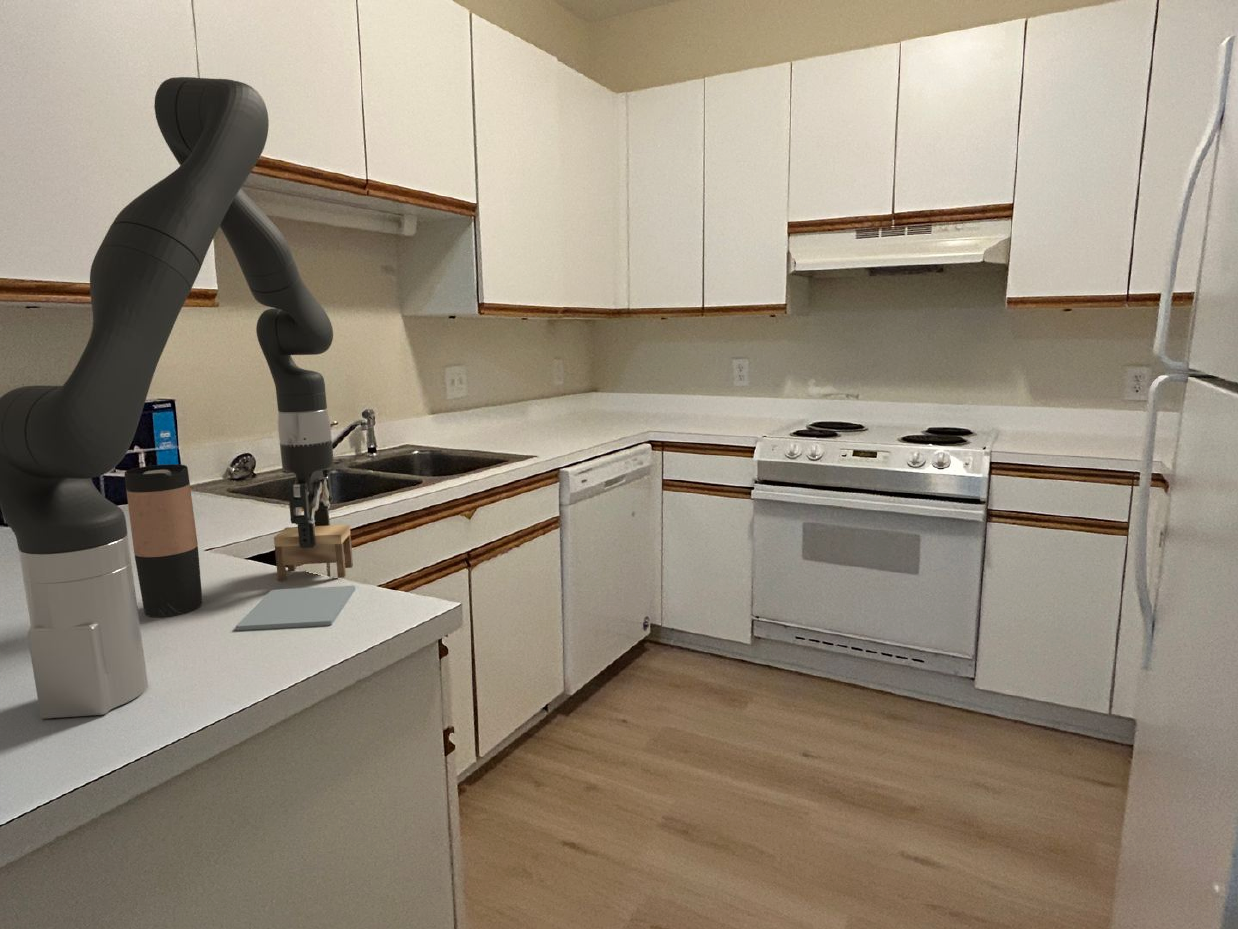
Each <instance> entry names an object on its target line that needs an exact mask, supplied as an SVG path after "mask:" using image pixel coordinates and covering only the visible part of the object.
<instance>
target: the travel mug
mask: <svg viewBox="0 0 1238 929" xmlns="http://www.w3.org/2000/svg"><path fill="white" fill-rule="evenodd" d="M188 469H189V468H188V466H187V465H185V464H173V463H172V464H170V463H169V464H155V465H154V464H153V465H146V466H141V467H135V468H131V469H128V470H125V471H124V481H125V489H126V498H127V507H128V514H129V521H130V522H129V523H130V531H131V538H132V546H133V554H134V561H135V566H136V567H135V568H136V574H137V577H138V584H139V589H140V595H141V601H142V607H143V610H144V614H145V616H147V617H152V618H168V617H176V616H180V615H183V614H187V613H190V612H193V611H195V610H197V609H198V608H200V607H201V606H203V594H202V593H203V590H202V580H201V579H202V578H201V568H200V557H199V556H200V555H199V545H198V538H197V537H198V535H197V528H196V523H195V522H196V521H195V515H194V507H193V506H194V505H193V498H192V490H191V484H190V475H189V470H188Z"/></svg>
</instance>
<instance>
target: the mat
mask: <svg viewBox="0 0 1238 929" xmlns="http://www.w3.org/2000/svg"><path fill="white" fill-rule="evenodd" d="M355 591H356V585H343V586H342V585H340V586H339V585H338V586H323V587H322V586H321V587H320V586H319V587H318V586H317V587H303V588H302V587H301V588H283V589H282V588H281V589H271V590H270V591H269V592H268V593H266V595H265V596H264V597H263V598H262V599H261V600H260V601H259V602H257V604H256V605H255V606H254V607H253V608H252V609H251V610H250V611H249V612H248V613H247V614H246V615H245V616H244V617H243V619H241V620H240V621H239V622H238V623H237V624H236V626H235V630H236V631H237V632H238V631H249V630H250V631H251V630H265V629H266V630H267V629H268V630H270V629H285V628H300V627H301V628H302V627H305V628H306V627H321V626H322V627H323V626H332V625H333V624H334V622H335V621H336V619H338V616H339V615H340V614H341V612H342V610H343V609H344V607H345V606H346V604H347V603H348V602H349V600H350V598H351V597H352V595H353V594H354V592H355Z"/></svg>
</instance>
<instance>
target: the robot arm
mask: <svg viewBox="0 0 1238 929" xmlns="http://www.w3.org/2000/svg"><path fill="white" fill-rule="evenodd" d="M158 86H159V87H158V88H157V90H156V91H155V92H156V93H155V96H154V106H153V108H154V114H155V120H156V123H157V125H158V129H159V132H160V133H161V136H162V138H163V139H164V141H165V143H166V145H167V147H168V149H170V152H171V153H172V155H173V157H174V158H175V160H176V162H177V163H178V164H179V167H178V168H177V169H175V170H174V171H173V172H171V173H170V174H168V175H167V176H166V177H164V178H163V179H161V180H159V181H158V182H157V183H155V184H154V185H152V186H151V187H149V188H148V189H146V190H145V191H144V192H143V193H141V194H139V195H138V196H137V197H136V198H134V199H133V200H132V201H131V202H129V203H128V204H127V205H126V206H125V207H124V208H123V209H122V210H121V211H120V212H119V213H118V214H117V216H116V217H115V218H114V220H113V221H112V223H111V224H110V227H109V228H108V230H107V232H106V234H105V236H104V237H103V240H102V241H101V244H100V246H99V247H98V249H97V251H96V253H95V255H94V258H93V260H92V263H91V266H90V271H89V292H90V293H89V294H90V302H91V310H92V327H91V328H92V329H91V332H90V336H89V339H88V341H87V343H86V346H85V348H84V350H83V352H82V354H81V356H80V358H79V360H78V362H77V364H76V366H75V367H74V369H73V370H72V373H71V374H70V375H69V376H68V378H67V379H66V381H65V382H64V384H63V385H27V386H20V387H17V388H14V389H11V390H10V391H8V392H6V393H4V394H3V395H2V396H0V510H1V514H2V516H3V518H4V520H5V522H6V524H7V525H8V527H9V528H10V529H11V531H12V532H13V534H14V535H15V538H16V543H17V549H18V555H19V559H20V567H21V573H22V578H23V585H24V591H25V598H26V605H27V609H28V610H27V611H28V616H29V623H30V627H31V628H29V629H28V631H27V634H26V635H27V640H28V641H27V642H28V647H29V654H30V659H31V660H30V661H31V665H32V666H31V667H32V671H33V672H32V673H33V677H34V685H35V690H36V695H37V702H38V709H39V713H40V714H39V715H40V718H41V719H43V720H44V719H54V718H55V719H56V718H70V717H73V718H74V717H87V716H98V715H99V716H100V715H106V714H107V713H108V712H110V711H111V710H113V709H115V708H117V707H119V706H122V705H124V704H126V703H129V702H131V701H133V700H134V699H136V698H138V697H140V695H142V694H143V693H144V692H145V691H146V690H147V688H148V685H149V681H148V675H147V665H146V660H145V653H144V646H143V639H142V630H141V623H140V617H139V610H138V609H139V608H138V602H137V594H136V588H135V587H136V586H135V580H134V573H133V565H132V557H131V550H130V541H129V534H128V528H127V526H128V525H127V520H126V516H125V512H124V511H123V509H121V507H119V506H118V505H117V504H115V503H113V502H112V501H110V500H109V499H107V497H105V496H103V494H101V493H100V491H99V490H98V489H97V487H96V486H95V484H94V483H93V482H94V481H93V478H98V477H101V476H103V475H107V474H108V473H109V472H111V471H112V470H113V469H115V468H116V467H117V466H118V465H119V464H120V463H121V461H122V460H123V459H124V458H125V456H126V455H127V453H128V451H129V449H130V447H131V444H132V443H133V440H134V438H135V435H136V431H137V429H138V427H139V426H138V425H139V423H140V420H141V416H142V413H143V410H144V406H145V402H146V400H147V397H148V394H149V390H150V387H151V383H152V381H153V378H154V376H155V375H154V374H155V372H156V369H157V367H158V365H159V364H158V363H159V361H160V359H161V356H162V354H163V352H164V351H165V347H166V345H167V343H168V341H169V338H170V335H171V334H172V330H173V328H174V325H175V323H176V321H177V319H178V317H179V315H180V312H181V310H182V308H183V306H185V305H184V304H185V303H186V301H187V299H188V298H189V297H188V296H189V295H190V292H191V291H192V288H193V286H194V284H195V283H196V279H197V278H198V275H199V274H200V271H201V269H202V266H203V263H204V261H205V258H206V257H207V254H208V251H209V249H210V246H211V245H212V242H213V240H214V238H215V237H216V234H217V232H218V230H219V229H220V230H221V231H222V233H223V234H224V236H225V238H226V240H227V242H228V244H229V246H230V248H231V249H232V252H233V255H234V256H235V258H236V260H237V263H238V265H239V268H240V269H241V271H242V275H243V276H244V279H245V280H246V283H247V286H248V287H249V290H250V293H251V295H252V296H253V298H254V299H255V301H256V302H257V303H259V304H260V305H263V306H265V307H269V309H265V310H264V311H263V312H261V313H260V315H259V317H258V320H257V322H256V325H255V326H256V328H255V329H256V332H255V333H256V338H257V341H258V343H259V344H258V345H259V346H260V347H259V348H260V349H261V351H262V353H263V356H264V359H265V360H266V363H267V366H268V369H269V371H270V374H271V377H272V380H273V383H274V388H275V394H276V404H277V411H278V413H277V416H278V418H277V431H278V439H279V440H278V441H279V447H280V456H281V457H280V458H281V467H282V470H283V471H285V472H287V473H293V474H294V475H295V482H294V483H289V484H288V485H287V490H288V501H289V503H288V504H289V513H290V514H289V515H290V523H291V524H294V525H297V527H298V534H299V544H300V547H301V548H312V547H314V546H315V545H316V541H315V531H314V526H331V523H330V513H329V509H330V507H331V503H333V500H334V498H333V493H332V484H331V476H330V469H331V468H332V467H334V465H335V460H334V451H333V450H334V449H333V442H332V440H333V439H332V438H333V437H332V428H331V427H332V426H331V421H330V416H329V413H328V405H327V394H326V393H327V392H326V382H325V379H324V376H323V375H322V374H321V373H320V372H318V371H314V370H309V369H304V368H301V367H299V366H298V365H297V364H296V362H295V361H294V359H293V358H292V356H305V355H306V356H313V355H320V354H323V353H326V352H327V351H328V350H329V349H330V347H331V346H332V343H333V340H334V330H333V324H332V322H331V320H330V317H329V315H328V314H327V312H326V311H325V309H324V308H323V306H322V305H321V304H320V303H319V301H318V300H317V299H316V297H315V296H314V294H313V293H312V292H311V291H310V289H309V288H308V287H307V285H306V284H305V282H304V280H303V279H302V277H301V275H300V274H301V273H300V272H299V269H298V266H297V264H296V261H295V259H294V256H293V253H292V251H291V248H290V246H289V243H288V242H287V240H286V238H285V237H284V235H283V234H282V232H281V231H280V229H279V228H278V227H277V226H276V225H275V223H273V221H272V220H271V219H270V218H269V217H268V216H267V214H265V212H263V211H262V210H261V209H260V207H258V206H259V205H258V206H257V204H256V203H254V201H253V200H252V199H251V198H250V197H249V196H248V195H247V194H246V193H245V191H244V190H243V188H242V186H243V185H244V184H245V182H246V181H247V179H248V177H249V176H250V174H251V172H253V169H254V168H255V166H256V165H257V163H258V162H259V160H260V157H261V155H262V154H263V151H264V149H265V146H266V143H267V140H268V134H269V125H270V124H269V123H270V122H269V114H268V109H267V106H266V103H265V100H264V99H263V97H262V96H261V95H260V93H259V91H257V90H256V89H255V88H254V87H252V86H251V85H249V84H248V83H245V82H241V81H238V80H234V79H229V78H228V79H227V78H206V77H205V78H204V77H192V76H190V77H189V76H182V77H181V76H177V77H176V76H175V77H170V78H168V79H165V80H164V81H163V82H161V83H160V85H158ZM302 512H303V514H302Z"/></svg>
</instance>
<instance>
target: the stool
mask: <svg viewBox="0 0 1238 929" xmlns="http://www.w3.org/2000/svg"><path fill="white" fill-rule="evenodd" d="M314 531H315V541H316V545H315V546H314V547H312V548H301V547H300V544H299V534H298V526H291V527H290V526H289V527H288V526H287V527H285V528H284V529H282V530H281V531H280V532H278V533H277V534H276V535H275V536H274V537H273V544H274V552H275V553H274V554H275V563H276V564H275V565H276V572H277V573H276V574H277V581H278V582H282V581H283V582H284V581H286V580H287V577H288V576H287V571H288V572H289V571H291V570H292V572H293V571H296V570H297V565H313V564H315V565H316V564H318V565H319V564H332V563H333V564H336V572H337V578H338V579H340V578H341V579H343V578H346V575H347V573H346V569H352V568H353V567H354V562H353V551H352V550H353V549H352V548H353V547H352V537H351V536H352V535H351V524H339V525H338V524H337V525H335V524H334V525H333V524H332V525H330V526H315V525H314Z"/></svg>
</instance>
